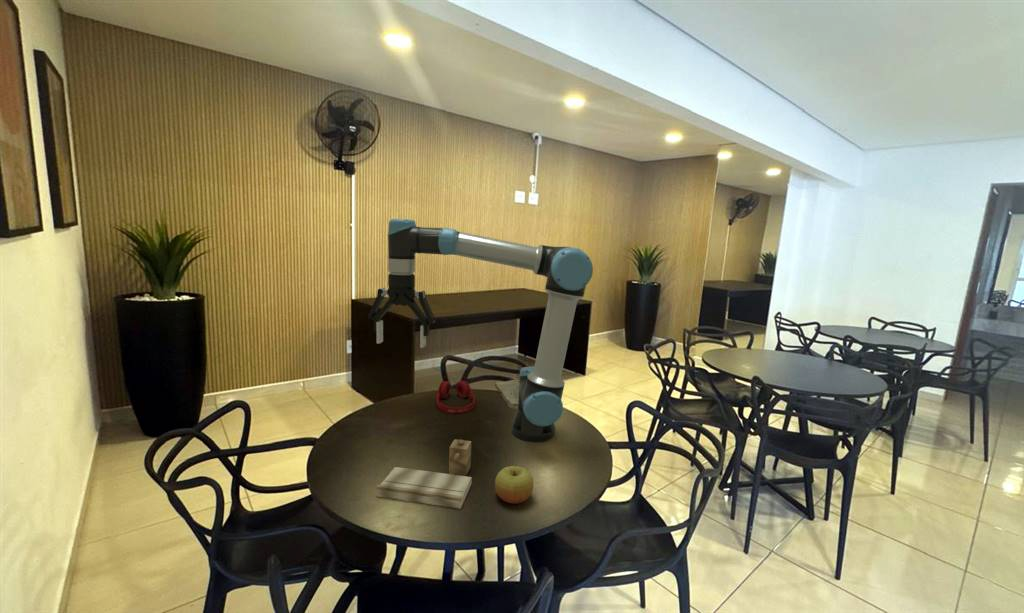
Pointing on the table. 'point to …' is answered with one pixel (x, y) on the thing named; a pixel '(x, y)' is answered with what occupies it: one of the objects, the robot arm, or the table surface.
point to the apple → (514, 484)
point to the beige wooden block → (460, 457)
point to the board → (425, 487)
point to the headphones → (462, 391)
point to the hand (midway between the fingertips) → (401, 344)
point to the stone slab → (509, 392)
